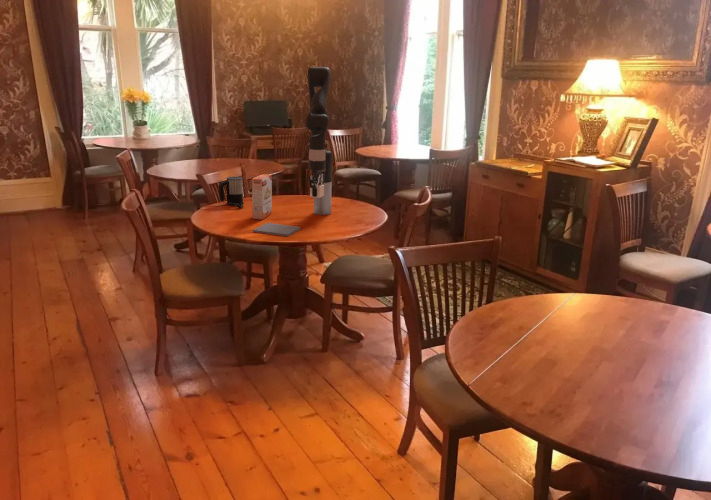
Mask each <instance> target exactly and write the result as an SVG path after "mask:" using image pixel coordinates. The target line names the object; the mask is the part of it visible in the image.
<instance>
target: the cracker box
mask: <svg viewBox="0 0 711 500" xmlns="http://www.w3.org/2000/svg"><path fill="white" fill-rule="evenodd" d="M272 180H273V179H272V174H264V173H263V174H260V175H258V176H255V177H253V178H251V198H252V200H251V202H252V203H251V204H252V206H251V207H252V208H251V210H252V219H253V220H261V221H262V220H264V219H266V218H267V217H269V216H270V215H272V214H273V212H272V210H273V204H272V203H273V200H272V199H273V198H272V197H273V196H272V195H273V192H272V190H273V187H272V186H273V185H272V184H273V182H272Z"/></svg>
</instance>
